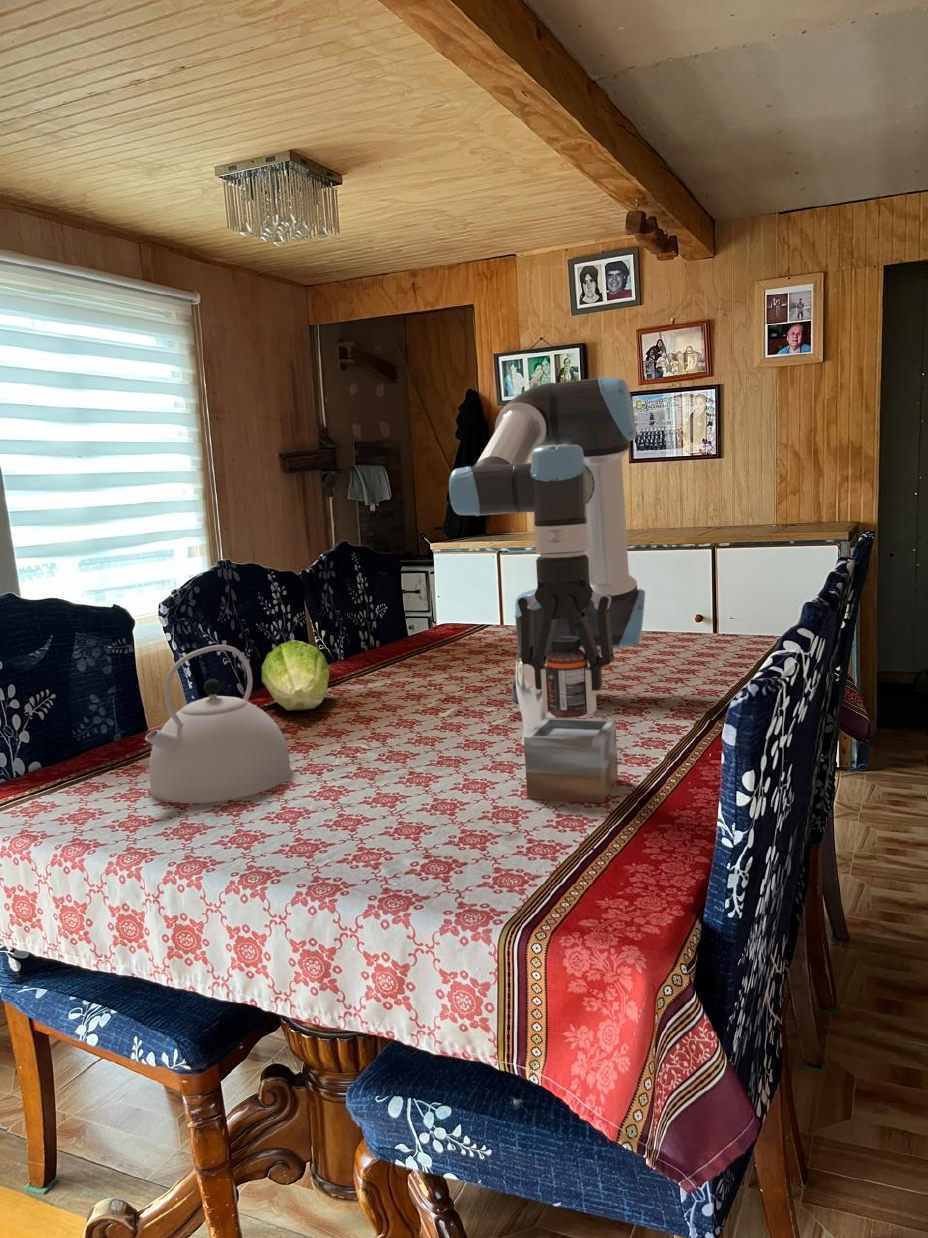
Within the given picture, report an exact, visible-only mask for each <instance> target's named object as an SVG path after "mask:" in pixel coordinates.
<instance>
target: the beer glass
mask: <svg viewBox="0 0 928 1238" xmlns="http://www.w3.org/2000/svg"><path fill="white" fill-rule="evenodd" d="M546 662H547V659H546ZM545 666H547V663H546V664H545ZM515 674H516V692H517V697H518V702H519V703H518V706H519V710H520V714H521V718H522V727H523V728H522V738H521V745H522V746H524V737H525V736H526V735H527V734H528V733H529V732H530V731H531V730H532V729H533V728H535V727H536V726H537V725H538V724H539V723H540V722H541V721H542V720H543V719H544V718H554V715H552V714H551V713H550V711H549V712H548V713H543V704H542V689H536V686H535V671H534V668H533V667H532V666H531V665H528V664H523V663H522V661H521V658H519V659H518V658H517V659H516V660H515Z"/></svg>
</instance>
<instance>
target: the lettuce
mask: <svg viewBox="0 0 928 1238" xmlns="http://www.w3.org/2000/svg"><path fill="white" fill-rule="evenodd" d="M329 679H330V667H329V665H328V662H327V660H326V657H325V655H324V654H323V653H322V652H321V651H320V650H319V649H318V648H317V647H316V646H314V645H311V644H309V643H306V642H304V641H300V640H295V639H291V640H289V641H286V642H283V643H281V644H279V645H278V646H276V647H275V648H273V650H271V651H270V652H268V653H267V655H266V657H265V659H264V662H263V663H262V666H261V682H262V683H263V685H264V686H265V688H266V689H267V691H268V692H269V693H270V694H269V695H270V696H271V697H272V699H274V701H275V702H276V703H278V704H279V705H280V706H281V707H283V708H284V709H285V710H287V711H304V710H305V711H306V710H311V709H315V708H317V707H318V706H319V705H320V704H321V703H322V702H323V700H324V699H325V698H324V697H325V695H326V693H327V691H328V684H329V681H330V680H329Z"/></svg>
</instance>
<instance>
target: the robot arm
mask: <svg viewBox="0 0 928 1238" xmlns="http://www.w3.org/2000/svg"><path fill="white" fill-rule="evenodd" d="M630 392H631V391H630V388H629V386H628V384H627V382H626V380H624V379H622V378H620V377H596V378H587V379H586V378H585V379H579V380H569V381H561V382H547V383H542V384H541V383H540V384H539V385H536V386H533V387H531V388H528V389H527V390H524V391H523V392H521V393H519V394H518V395H516V396H515V397H514V398H512V399H511V400H510V401H509V402H507V404H505V405H504V406H503V408H502V409H501V410H500V412H499V414H498V415H497V416H496V420H495V423H494V432H493V435H492V436H491V438H490V439H489V441H488V443H487V445H486V446H485V448H484V450H483V452H482V453H481V455H480V456H479V458H478V460H476V461H477V462H476V463H475V464H474V466H470V465H469V466H465V467H459V468H455V469H454V470H452V472H451V473H450V476H449V480H448V493H449V494H448V495H449V501H450V505H451V507H452V510H453V511H454V513H455V514H457V515H459V516H476V517H479V516H489V515H490V516H491V515H504V514H517V513H533V516H534V517H533V519H534V522H533V523H534V525H533V526H534V540H535V541H534V542H535V553H536V554H538V555H539V556H538V557H537V558H536V560H535V564H536V582H537V586H536V588H535V589H532V590H528V591H524V592H521V593H520V594H519V595H518V596H517V597H516V598H515V603H514V604H515V612H514V613H515V615H514V619H515V628H516V629H515V630H516V645H517V649H516V650H517V659H519V658H521V661H522V663H523V664H528V665H531V666H532V667H533V668H534V671H535V686H536V689H542V704H543V713H548V712H549V711H550V708H549V694H548V677H547V666H545V664H546V663H547V662H546V659H547V656H548V655H549V654H550V653H551V652H552V649H553V647H552V639H553V638H556V637H562V636H575V637H579V638H580V647H579V649H583V652H584V653H585V654H586V656H587V661H588V668H587V669H586V670H585V680H586V701H587V714H586V715H593V714H595V712H596V711H597V691H600V690H601V689H602V686H603V677H602V676H603V675H602V669H603V667H605V666H609V665H610V664H611V663H612V662H613V661H614V659H615V657H614V654H615V653H614V648H615V649H620V648H628V647H629V648H630V647H635V646H637V645H638V644H639V643H640V642H641V638H642V631H643V624H644V623H643V622H644V613H645V612H644V611H645V603H646V601H645V600H646V592H645V590H644V589H641V588H639V589H638V582H637V580H636V579H635V578H634V577H633V576H632V575H630V573H629V572H630V571H629V556H628V539H627V522H626V506H625V490H624V473H623V457H624V456H625V455H626V453H627V452H628V451H629V450H630V442H631V441H633V440H635V439H636V438H637V425H636V417H635V411H634V405H633V400H632V396H631V393H630ZM530 457H531V458H530ZM529 459H531V460H530V461H531V462H528V461H529ZM599 648H600V652H599ZM511 700H512V701H513V702H515V703H517V704H519V702H518V697H517V692H516V673H515V675H514V678H513V683H512V686H511Z"/></svg>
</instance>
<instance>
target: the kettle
mask: <svg viewBox="0 0 928 1238" xmlns="http://www.w3.org/2000/svg"><path fill="white" fill-rule="evenodd" d="M222 650H223V651H229V652H231V653H233V654H235V655H236V656H237V657H238V658H240V660H241V662H242V663H243V665H244V668H245V670H246V675H247V677H246V678H247V686H246V690H245V693H244V697H243V698H240V697H237V696H227V695H225V696H224V695H218V693H219V692H220V690H221V684H220V682H219V681H218V680H217V679H215V678H210V679H208V680H207V681H205V683H204V684H203V690H204V692H205V693H206V694H207V695H208V696H207V697H203V698H201V699H198V700H195V701H191V702H189V703H188V704H186V705H185V706H183V707H181V709H179V710H178V711H177V712H176V711H175V709H174V707H173V704H172V701H171V684H172V680H173V677H174V675H175V673H176V671H178V669H179V668H180V667H181V666H182V665H183V664H185V662H187V661H188V660H190V659H193V658H194V657H196V656H199V655H202V654H205V653H209V652H213V651H222ZM252 688H253V674H252V668H251V665H250V663H249V661H248V658H247V657H246V656H245V655H244V654H243V652H241V651H240V650H239V649H238V648H235V647H234V646H230V645H226V644H215V645H210V646H209V645H208V646H206V647H203V648H200V649H199V648H198V649H196V650H193V651H191V652H189V653H187V654H185V655H184V656H182V657H181V658H180V659H178V661H176V662H175V663H174V664H173V666H172V667H171V668H170V670H169V672H168V674H167V677H166V679H165V682H164V700H165V705H166V709H167V710H168V713H169V715H170V716H171V717H170V718H169V719H168V720H167V721H166V723H165V724H164V725H163V726H162V728H161V729H160V730H159V729H154V730H151V731H150V732H149V733H147V734H146V735H145V737H144V740H145V741H146V742H147V743H149V744H151V745H152V747H151V751H150V757H149V767H148V768H149V769H148V770H149V771H148V774H149V784H150V789H149V790H150V794H151V796H152V797H154V798H156V799H157V800H160V799H161V800H160V801H164V802H169V803H175V802H180V803H179V804H205V803H206V804H208V803H216V802H223V801H224V800H225V801H230V800H235V799H236V800H237V799H240V798H244V797H248V796H252V795H255V794H259V793H262V792H265V791H267V790H270V789H272V788H275V787H277V786H279V785H280V784H282V783H284V782H285V781H286V780H288V778H289V777H290V776H291V774H292V768H291V764H290V763H291V762H290V756H289V752H288V750H289V749H288V745H287V741H286V740H285V737H284V734H283V733H282V730H281V729H280V727H279V726H278V724H277V723H276V722H275V721H274V720H273V718H272V717H271V716H270V715H269V714H268V713H267V712H265V711H264V710H263V709H262V708H260V707H259V706H256V705H255V704H253V703H251V702H250V701H249V699H250V696H251V693H252Z"/></svg>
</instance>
